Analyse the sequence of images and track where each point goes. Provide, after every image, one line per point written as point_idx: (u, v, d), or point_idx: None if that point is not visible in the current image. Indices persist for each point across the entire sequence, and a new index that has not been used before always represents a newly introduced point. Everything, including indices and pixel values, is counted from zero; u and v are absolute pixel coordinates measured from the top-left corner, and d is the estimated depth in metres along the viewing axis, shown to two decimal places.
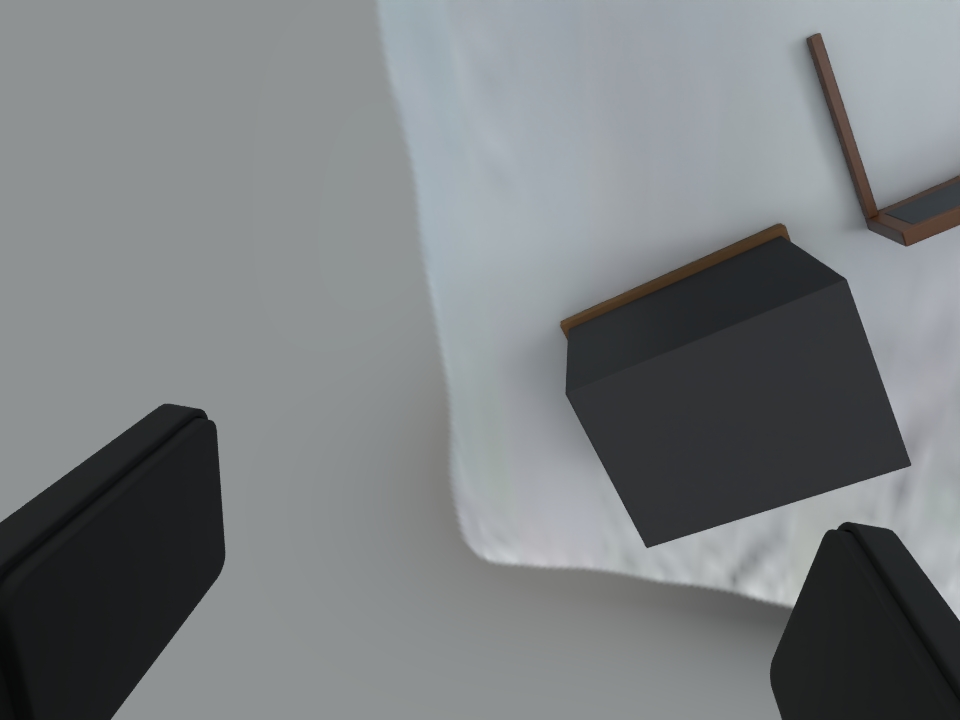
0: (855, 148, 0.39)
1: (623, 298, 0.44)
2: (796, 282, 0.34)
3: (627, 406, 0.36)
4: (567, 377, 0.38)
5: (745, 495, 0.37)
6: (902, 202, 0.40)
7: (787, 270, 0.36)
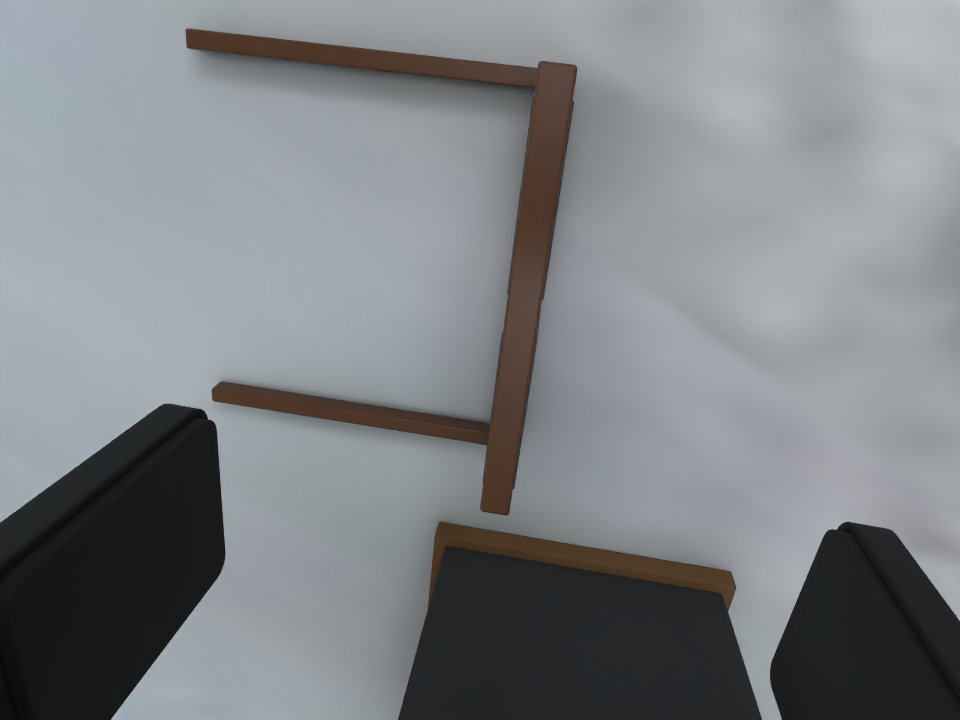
0: (381, 418, 0.25)
1: None
2: None
3: None
4: None
5: None
6: None
7: None
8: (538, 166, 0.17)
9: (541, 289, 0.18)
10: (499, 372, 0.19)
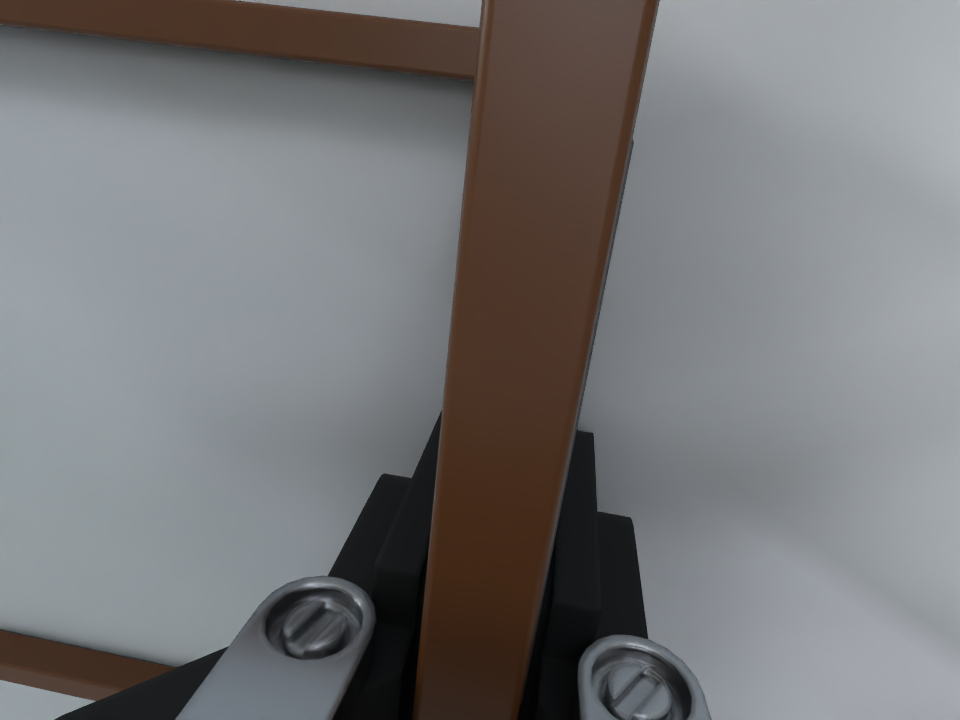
0: None
1: None
2: None
3: None
4: None
5: None
6: None
7: None
8: (494, 377, 0.04)
9: (512, 715, 0.06)
10: None
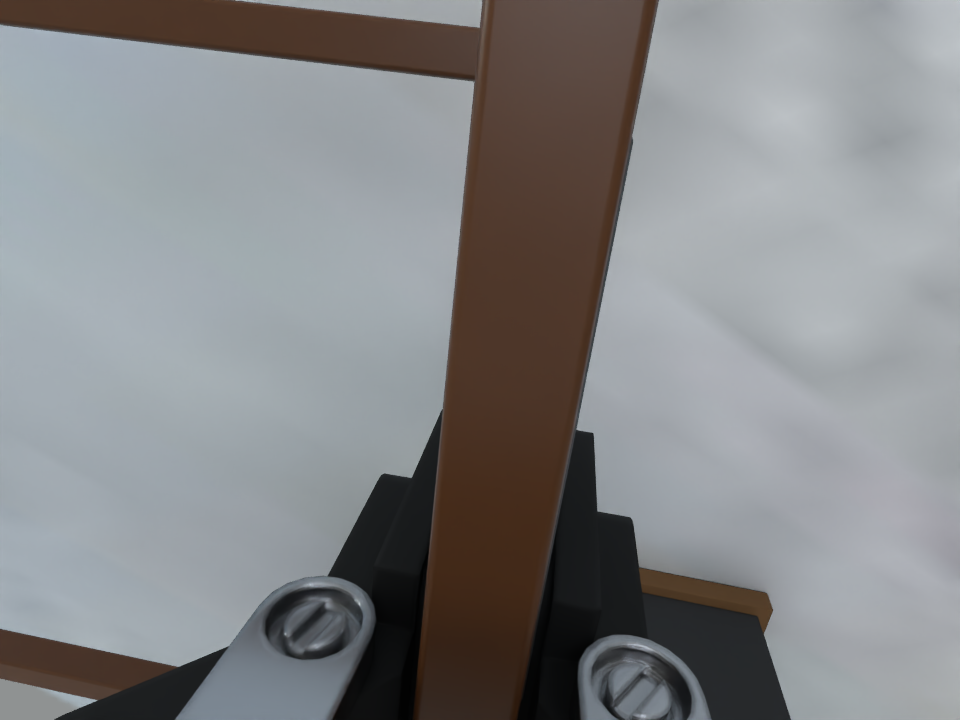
0: None
1: None
2: None
3: None
4: None
5: None
6: None
7: None
8: (495, 375, 0.04)
9: (513, 712, 0.06)
10: None
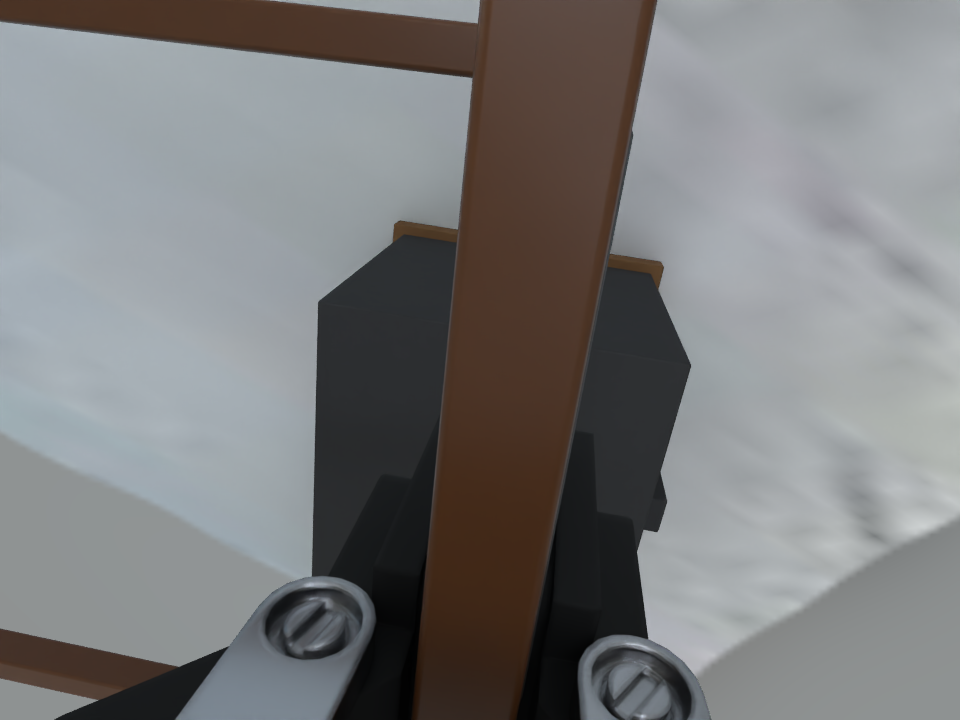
0: None
1: None
2: None
3: None
4: None
5: None
6: None
7: None
8: (494, 371, 0.04)
9: (512, 711, 0.06)
10: None
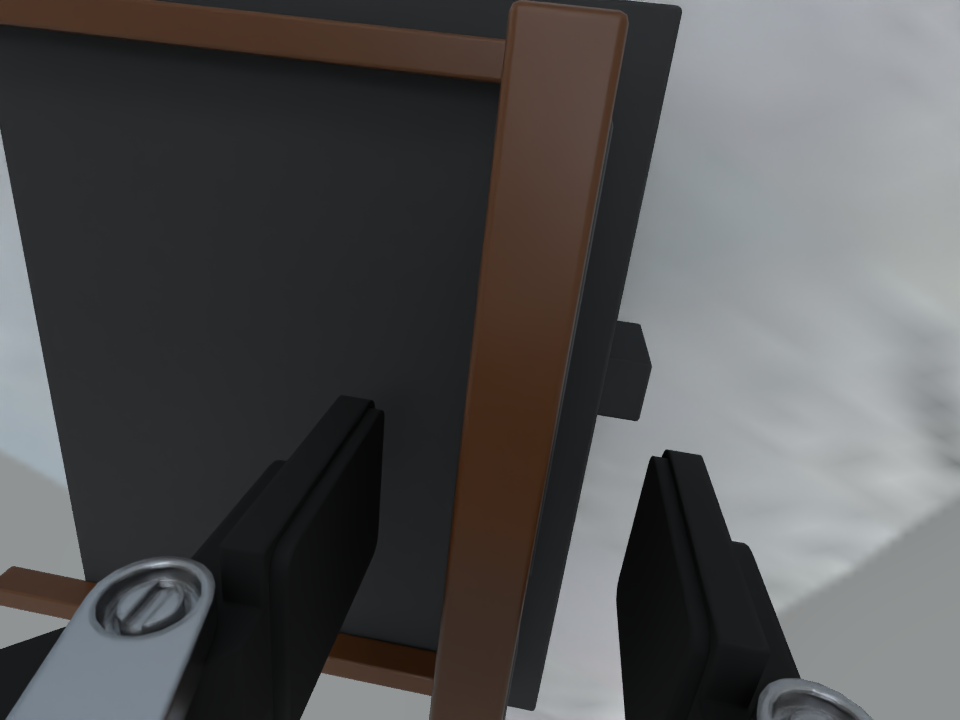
0: None
1: None
2: None
3: (157, 549, 0.15)
4: None
5: None
6: None
7: None
8: (513, 298, 0.06)
9: (524, 575, 0.07)
10: (432, 719, 0.09)
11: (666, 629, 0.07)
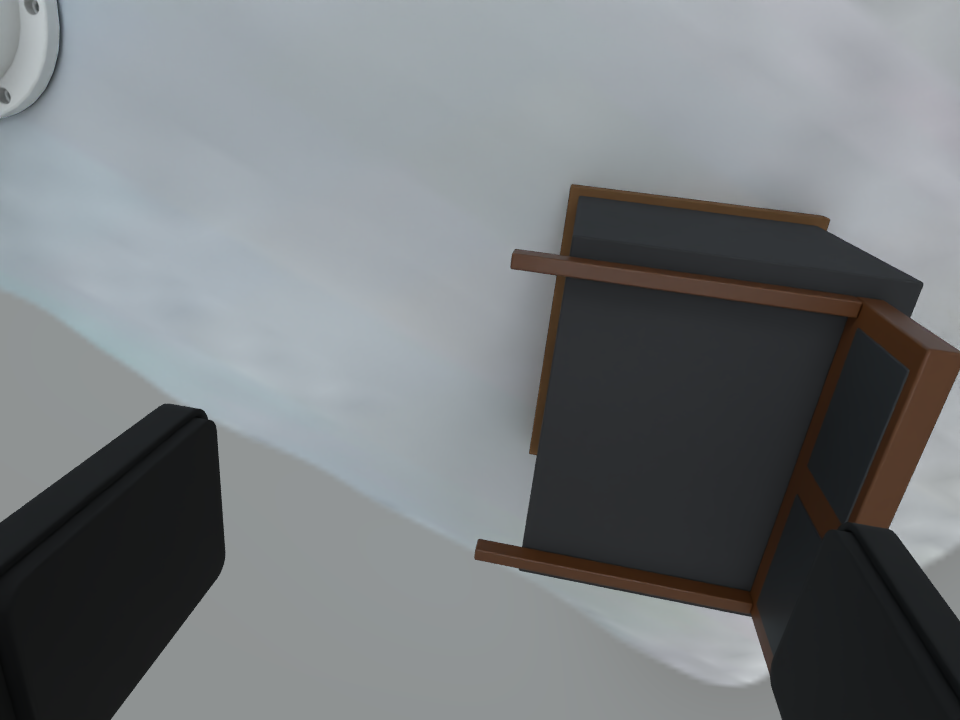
0: (641, 584, 0.27)
1: (541, 382, 0.37)
2: None
3: (576, 528, 0.27)
4: None
5: None
6: (762, 570, 0.26)
7: None
8: (908, 432, 0.18)
9: None
10: None
11: None
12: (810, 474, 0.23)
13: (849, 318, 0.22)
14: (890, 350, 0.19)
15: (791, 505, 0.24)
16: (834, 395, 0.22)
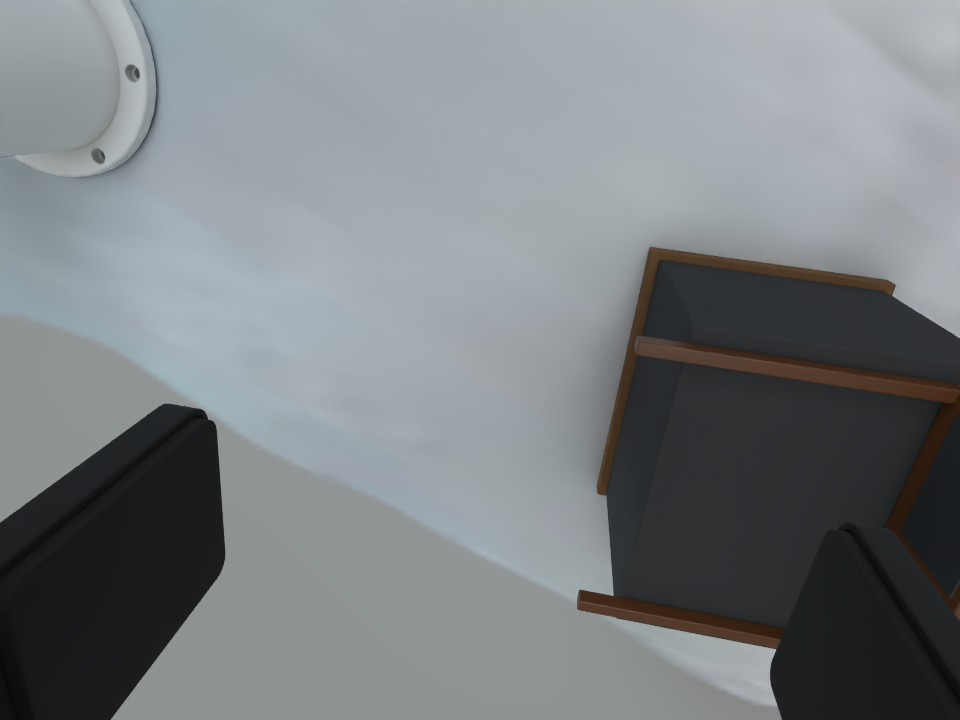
0: (735, 633, 0.29)
1: (612, 428, 0.39)
2: None
3: (674, 581, 0.29)
4: (613, 585, 0.33)
5: None
6: None
7: (668, 326, 0.29)
8: None
9: None
10: None
11: None
12: (905, 540, 0.25)
13: None
14: None
15: None
16: (932, 471, 0.24)
